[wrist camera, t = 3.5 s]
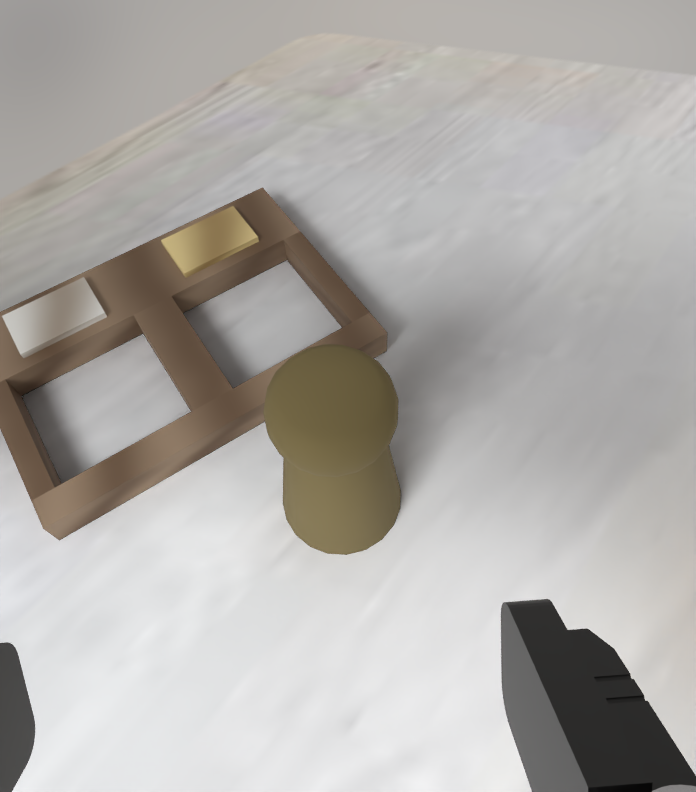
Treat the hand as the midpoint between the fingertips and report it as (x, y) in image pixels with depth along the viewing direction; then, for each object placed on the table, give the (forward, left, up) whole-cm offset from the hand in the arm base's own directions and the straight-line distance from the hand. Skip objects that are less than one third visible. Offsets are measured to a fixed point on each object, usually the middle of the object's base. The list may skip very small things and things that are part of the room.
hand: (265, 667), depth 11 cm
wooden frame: (+3, +22, -20) cm, 30 cm away
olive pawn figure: (+6, +9, -20) cm, 23 cm away
